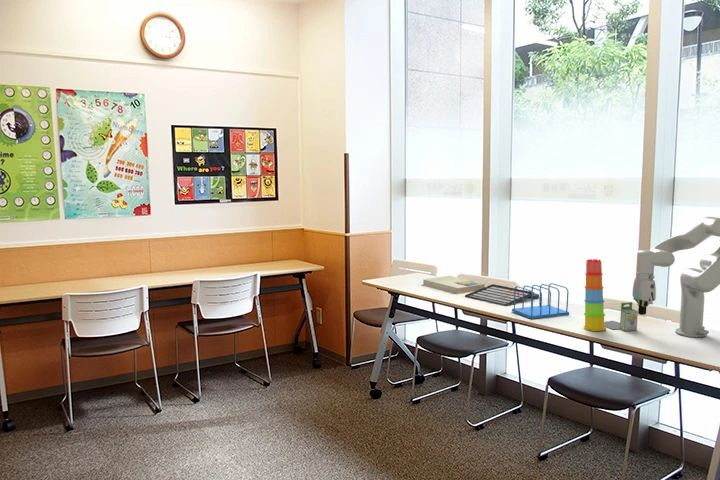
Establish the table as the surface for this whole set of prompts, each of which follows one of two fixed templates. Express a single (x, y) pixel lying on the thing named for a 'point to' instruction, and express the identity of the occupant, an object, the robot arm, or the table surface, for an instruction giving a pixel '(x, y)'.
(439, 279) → the puzzle box
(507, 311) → the table surface
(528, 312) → the file sorter
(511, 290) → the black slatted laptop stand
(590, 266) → the stacking cups
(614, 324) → the mat
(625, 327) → the ink box
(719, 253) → the robot arm
